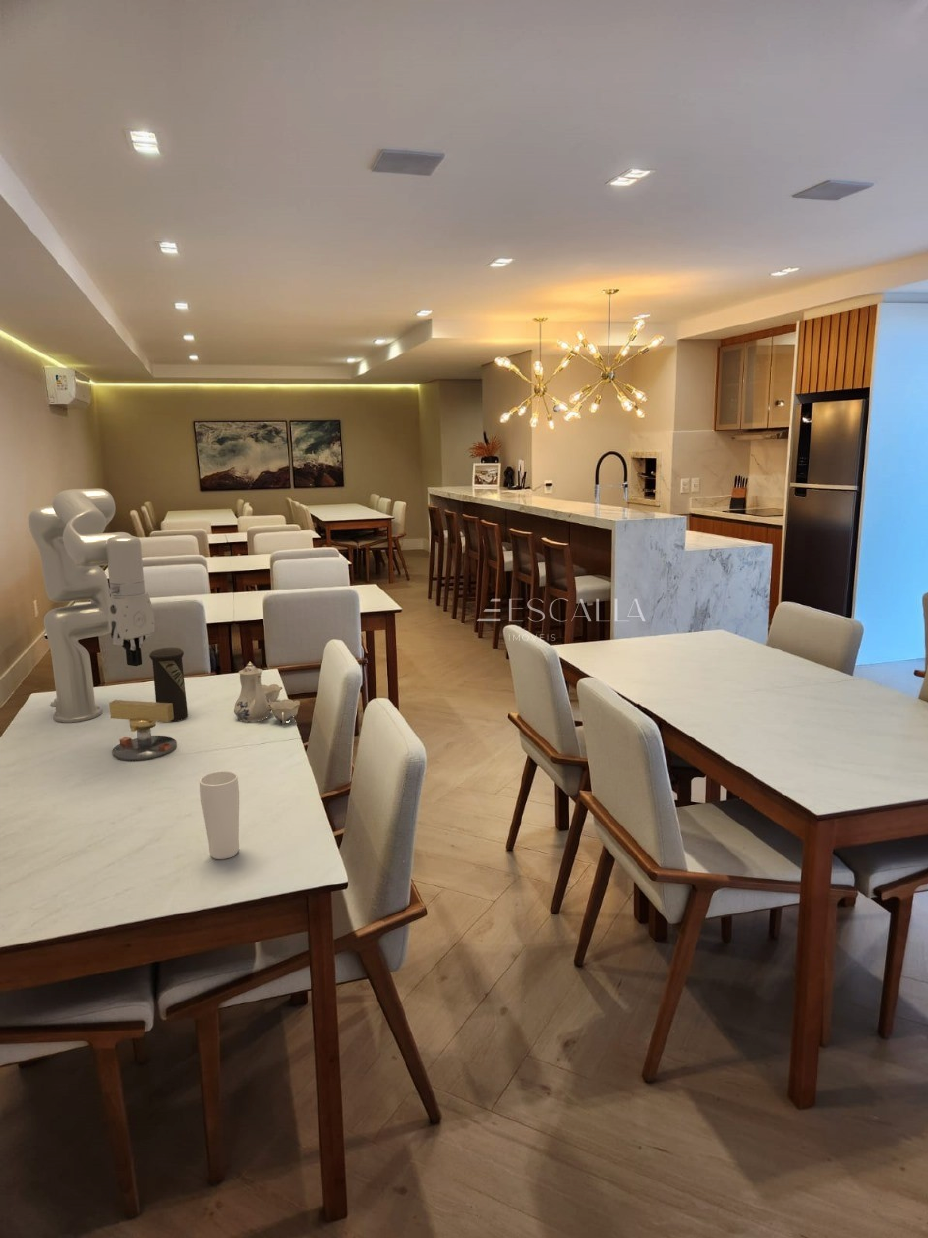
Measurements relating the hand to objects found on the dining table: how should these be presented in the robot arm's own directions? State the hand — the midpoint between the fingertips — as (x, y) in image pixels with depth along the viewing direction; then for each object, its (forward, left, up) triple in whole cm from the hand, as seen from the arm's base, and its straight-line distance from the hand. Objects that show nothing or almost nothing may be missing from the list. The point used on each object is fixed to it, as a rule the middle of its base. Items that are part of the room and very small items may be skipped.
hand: (134, 664), depth 190 cm
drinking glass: (+49, -31, -24) cm, 63 cm away
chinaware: (+8, +38, -24) cm, 46 cm away
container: (-15, +27, -24) cm, 39 cm away
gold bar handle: (-4, +5, -17) cm, 19 cm away
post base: (-4, +5, -24) cm, 25 cm away
